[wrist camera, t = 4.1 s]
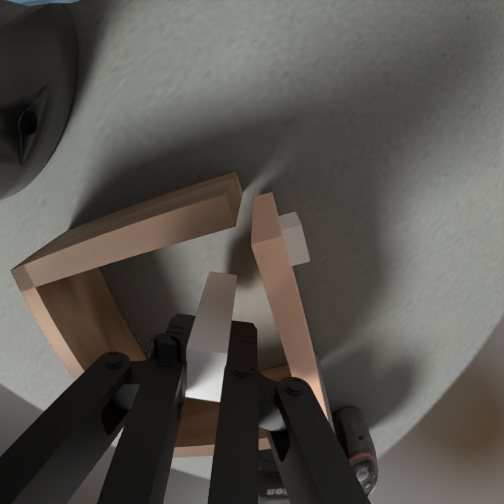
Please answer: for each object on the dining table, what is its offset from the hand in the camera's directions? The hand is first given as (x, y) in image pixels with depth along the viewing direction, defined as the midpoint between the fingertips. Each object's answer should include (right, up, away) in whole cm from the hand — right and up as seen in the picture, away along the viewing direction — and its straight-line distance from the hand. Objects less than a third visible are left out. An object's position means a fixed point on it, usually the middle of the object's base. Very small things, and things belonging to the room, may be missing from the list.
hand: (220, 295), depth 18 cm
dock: (-2, -1, +2) cm, 3 cm away
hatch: (+4, 0, +1) cm, 4 cm away
